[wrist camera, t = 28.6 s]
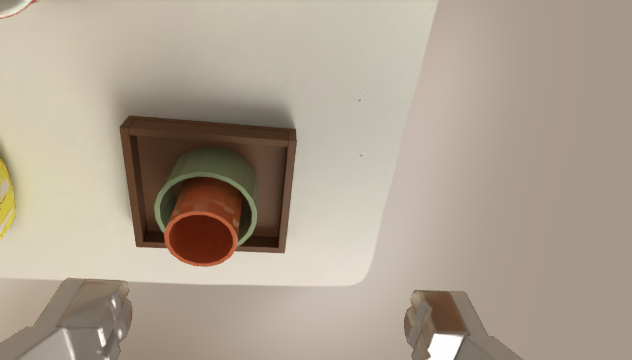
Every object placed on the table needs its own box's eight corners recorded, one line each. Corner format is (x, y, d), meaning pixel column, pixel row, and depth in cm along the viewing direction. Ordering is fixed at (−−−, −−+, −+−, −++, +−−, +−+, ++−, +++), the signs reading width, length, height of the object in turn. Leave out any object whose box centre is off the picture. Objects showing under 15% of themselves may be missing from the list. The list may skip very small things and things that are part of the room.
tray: (295, 129, 42) (296, 140, 40) (284, 238, 50) (284, 253, 47) (129, 115, 40) (119, 127, 38) (143, 231, 48) (136, 247, 45)
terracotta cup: (245, 163, 43) (237, 213, 35) (243, 212, 46) (236, 267, 39) (183, 159, 42) (161, 209, 34) (186, 209, 45) (166, 265, 38)
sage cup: (261, 147, 43) (259, 176, 38) (257, 220, 48) (254, 255, 43) (166, 139, 42) (150, 168, 37) (172, 216, 47) (158, 251, 42)
